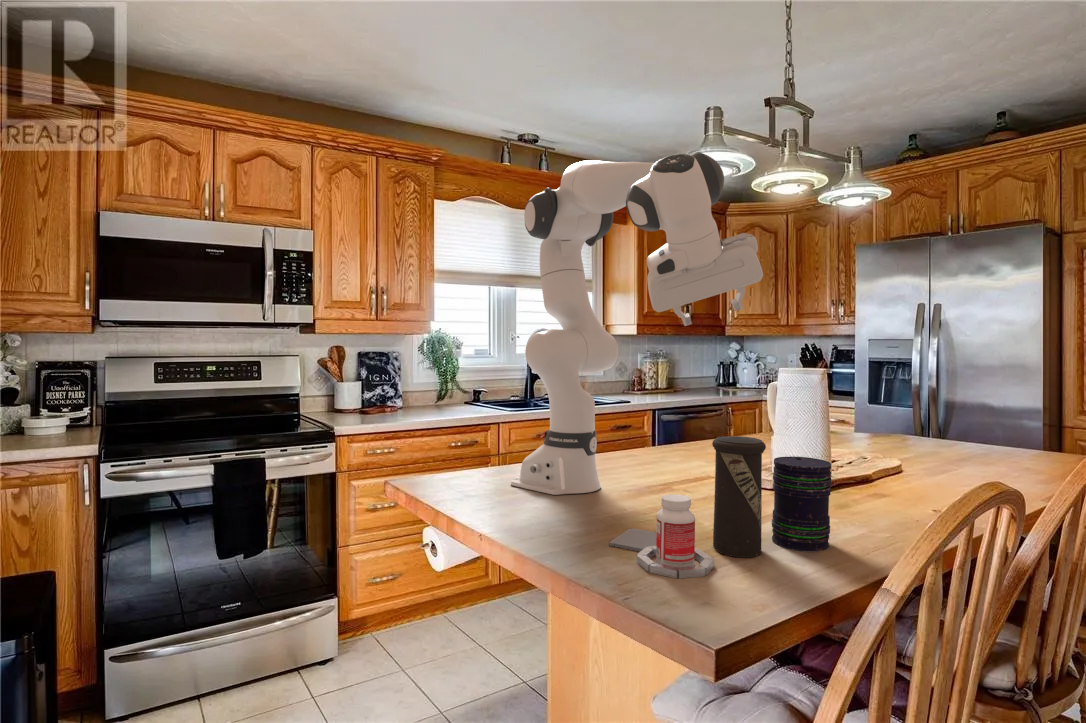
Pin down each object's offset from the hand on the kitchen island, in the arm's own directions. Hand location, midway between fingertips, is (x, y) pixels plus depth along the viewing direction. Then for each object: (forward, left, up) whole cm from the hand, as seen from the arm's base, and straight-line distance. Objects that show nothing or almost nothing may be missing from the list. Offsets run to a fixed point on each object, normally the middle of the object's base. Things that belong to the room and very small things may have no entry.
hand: (712, 316), depth 116 cm
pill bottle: (-1, -18, -41) cm, 45 cm away
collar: (-1, -18, -41) cm, 45 cm away
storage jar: (+15, +5, -41) cm, 44 cm away
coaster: (-9, -10, -41) cm, 43 cm away
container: (+6, -5, -41) cm, 42 cm away
